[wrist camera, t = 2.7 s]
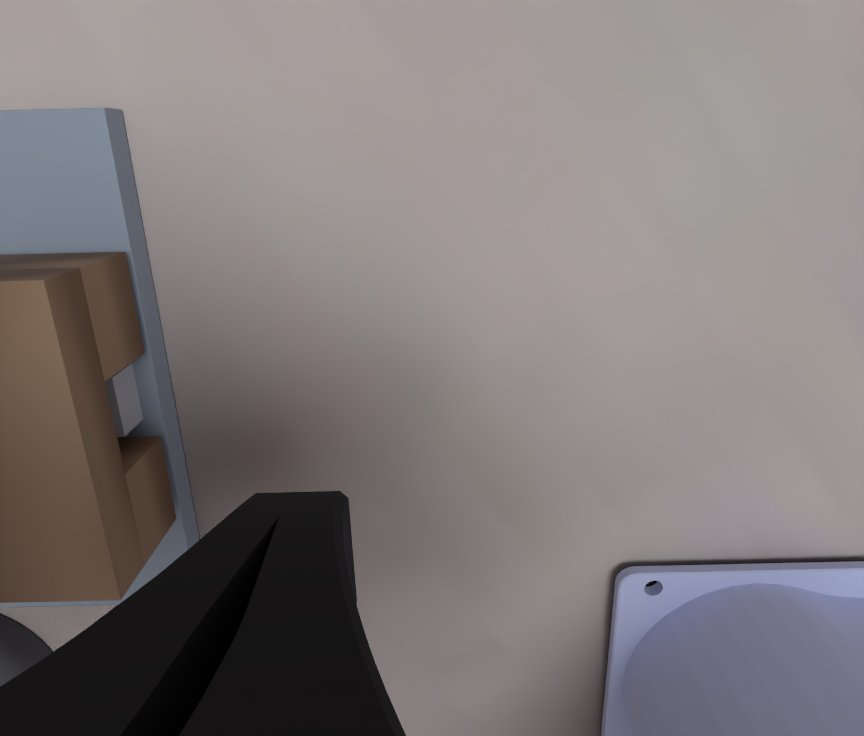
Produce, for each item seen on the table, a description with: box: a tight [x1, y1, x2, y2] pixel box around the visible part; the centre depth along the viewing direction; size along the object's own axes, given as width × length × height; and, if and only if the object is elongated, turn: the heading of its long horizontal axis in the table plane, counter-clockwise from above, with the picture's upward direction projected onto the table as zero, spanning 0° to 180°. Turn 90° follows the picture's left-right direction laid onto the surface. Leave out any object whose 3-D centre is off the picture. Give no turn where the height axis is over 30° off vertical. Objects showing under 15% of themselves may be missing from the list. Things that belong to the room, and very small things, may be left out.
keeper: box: [0, 252, 176, 603], centre depth 14 cm, size 5×7×3 cm
